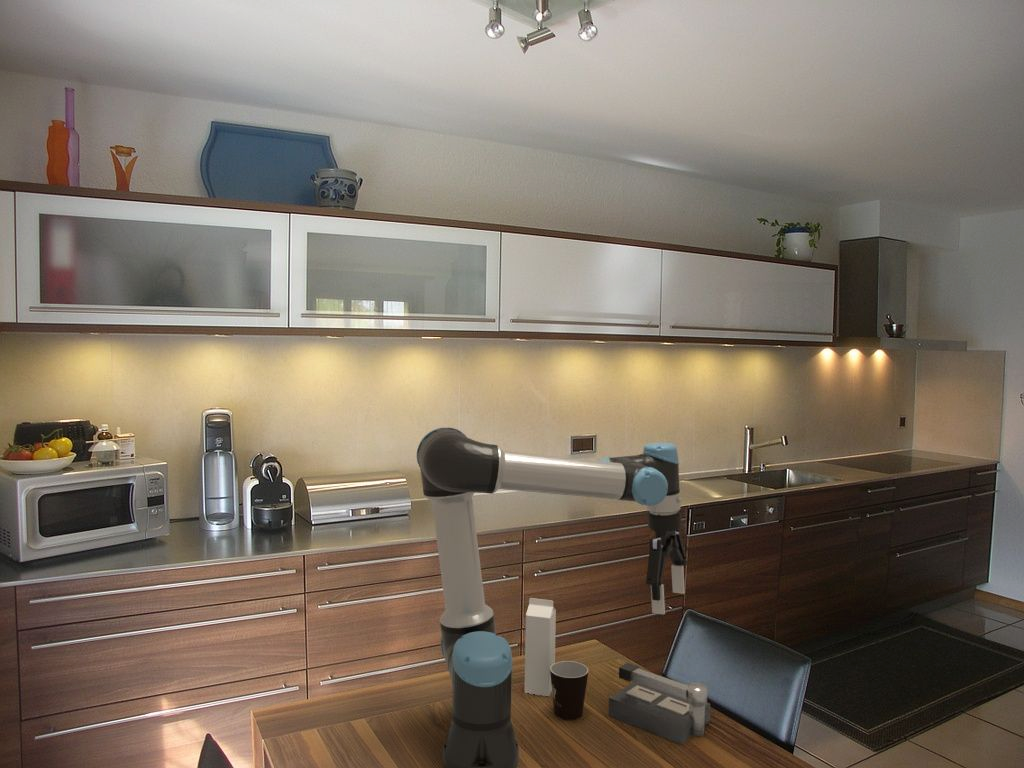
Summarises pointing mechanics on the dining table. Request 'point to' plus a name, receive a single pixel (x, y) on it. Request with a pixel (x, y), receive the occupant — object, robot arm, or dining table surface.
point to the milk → (539, 646)
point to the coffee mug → (568, 689)
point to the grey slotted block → (659, 712)
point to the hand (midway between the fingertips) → (669, 602)
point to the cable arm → (665, 684)
